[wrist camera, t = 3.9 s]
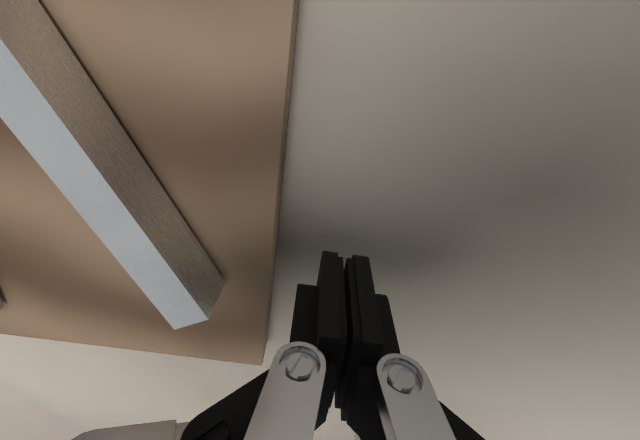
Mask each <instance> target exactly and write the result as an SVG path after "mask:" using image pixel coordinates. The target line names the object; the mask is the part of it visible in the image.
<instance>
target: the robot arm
mask: <svg viewBox="0 0 640 440" xmlns="http://www.w3.org/2000/svg"><path fill="white" fill-rule="evenodd" d="M334 391H335V408H340V409H341V420H343V421H347V424H348V425H349V426H350V427H351V428H352V429H353V431H354V432H355V440H485V439H484V438H483V437H481V436H480V435H479V434H478V433H477V432H476V431H474V430H473V429H472V428H471V427H470V426H468V425H467V424H466V423H465V422H464V421H463V420H461V419H460V418H459V417H458V416H457V415H455V414H454V413H453V412H452V411H451V410H449V409H448V408H447V407H446V406H445V405H444V404H442V403H441V402H440V401H439V400H438V398H437V396H436V394H435V391H434V389H433V387H432V385H431V383H430V380H429V378H428V376H427V374H426V372H425V371H424V369H423V368H422V367H421V366H420V365H419V364H418V363H417V362H416V361H415V360H413V359H412V358H410V357H408V356H405V355H403V354H400V349H399V345H398V341H397V336H396V332H395V327H394V323H393V318H392V314H391V310H390V305H389V301H388V298H387V296H386V295H381V294H375V290H374V284H373V279H372V273H371V268H370V262H369V257H366V256H358V255H353V256H352V259H351V258H347V260H346V264H345V268H344V267H343V257H338V253H336V252H329V251H323V252H322V257H321V263H320V269H319V274H318V280H317V286H312V285H304V284H298V285H297V292H296V300H295V307H294V314H293V321H292V328H291V335H290V342H289V343H288V344H286V345H284V346H282V347H281V348H280V349H279V350H278V351H277V353H276V355H275V356H274V359H273V362H272V364H271V367H270V369H269V370H267V371H265V372H264V373H262V374H261V375H259V376H258V377H256V378H255V379H253V380H252V381H250V382H248V383H247V384H245V385H244V386H242V387H241V388H239V389H238V390H236V391H234V392H233V393H231V394H230V395H228V396H227V397H225V398H224V399H222V400H220V401H219V402H217V403H216V404H214V405H213V406H211V407H210V408H208V409H207V410H205V411H203V412H202V413H200V414H199V415H197V416H196V417H195V418H194V419H193V420H191V421H190V422H185V423H176V420H169V421H161V422H153V423H144V424H136V425H128V426H120V427H112V428H104V429H95V430H92V431H88V432H85V433H82V434H80V435H79V436H77V437H75V438H73V439H72V440H313V435H314V431H315V430H316V429H317V428H318V427H319V426H320V425H322V424H323V423H324V422H325V421H326V417H327V413H328V409H329V407H331V403H332V399H333V395H334Z"/></svg>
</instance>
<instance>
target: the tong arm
mask: <svg viewBox="0 0 640 440" xmlns="http://www.w3.org/2000/svg"><path fill="white" fill-rule="evenodd" d="M0 118H1V119H2V120H3V121H4V123H5V124H6V125H7V126H8V127H9V129H10V130H11V131H12V132H13V134H14V135H15V136H16V137H17V138H18V140H19V141H20V142H21V143H22V145H23V146H24V147H25V148H26V149H27V151H28V152H29V153H30V154H31V156H32V157H33V158H34V159H35V160H36V162H37V163H38V164H39V165H40V166H41V168H42V169H43V170H44V171H45V173H46V174H47V175H48V176H49V177H50V179H51V180H52V181H53V182H54V184H55V185H56V186H57V187H58V188H59V190H60V191H61V192H62V193H63V195H64V196H65V197H66V198H67V199H68V201H69V202H70V203H71V204H72V206H73V207H74V208H75V209H76V210H77V212H78V213H79V214H80V215H81V217H82V218H83V219H84V220H85V221H86V223H87V224H88V225H89V226H90V228H91V229H92V230H93V231H94V232H95V234H96V235H97V236H98V237H99V238H100V240H101V241H102V242H103V243H104V245H105V246H106V247H107V248H108V249H109V251H110V252H111V253H112V254H113V256H114V257H115V258H116V259H117V260H118V262H119V263H120V264H121V265H122V267H123V268H124V269H125V270H126V271H127V273H128V274H129V275H130V276H131V278H132V279H133V280H134V281H135V282H136V284H137V285H138V286H139V287H140V289H141V290H142V291H143V292H144V293H145V295H146V296H147V297H148V298H149V300H150V301H151V302H152V303H153V304H154V306H155V307H156V308H157V309H158V310H159V312H160V313H161V314H162V315H163V317H164V318H165V319H166V320H167V321H168V323H169V324H170V325H171V326H172V328H173V329H174V330H175V329H179V328H182V327H185V326H189V325H192V324H195V323H199V322H202V321H206V320H209V318H210V315H211V313H212V311H213V309H214V306H215V304H216V302H217V300H218V298H219V295H220V293H221V291H222V289H223V286H224V284H225V281H224V280H223V278H222V277H221V275H220V274H219V272H218V271H217V269H216V268H215V266H214V265H213V263H212V262H211V260H210V259H209V257H208V256H207V254H206V253H205V251H204V250H203V248H202V247H201V245H200V244H199V242H198V241H197V239H196V238H195V236H194V235H193V233H192V232H191V230H190V229H189V227H188V226H187V224H186V223H185V221H184V220H183V218H182V217H181V215H180V214H179V212H178V211H177V209H176V208H175V206H174V205H173V203H172V202H171V200H170V199H169V197H168V196H167V194H166V193H165V191H164V190H163V188H162V186H161V185H160V183H159V182H158V180H157V179H156V177H155V176H154V174H153V173H152V171H151V170H150V168H149V167H148V165H147V164H146V162H145V161H144V159H143V158H142V156H141V155H140V153H139V152H138V150H137V149H136V147H135V146H134V144H133V143H132V141H131V140H130V138H129V137H128V135H127V134H126V132H125V131H124V129H123V128H122V126H121V125H120V123H119V122H118V120H117V119H116V117H115V116H114V114H113V113H112V111H111V110H110V108H109V107H108V105H107V104H106V102H105V101H104V99H103V98H102V96H101V95H100V93H99V92H98V90H97V89H96V87H95V86H94V84H93V83H92V81H91V80H90V78H89V77H88V75H87V74H86V72H85V71H84V69H83V68H82V66H81V65H80V63H79V62H78V60H77V59H76V57H75V55H74V54H73V52H72V51H71V49H70V48H69V46H68V45H67V43H66V42H65V40H64V39H63V37H62V36H61V34H60V33H59V31H58V30H57V28H56V27H55V25H54V24H53V22H52V21H51V19H50V18H49V16H48V15H47V13H46V12H45V10H44V9H43V7H42V6H41V4H40V3H39V1H38V0H0Z"/></svg>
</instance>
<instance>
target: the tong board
mask: <svg viewBox="0 0 640 440" xmlns="http://www.w3.org/2000/svg"><path fill="white" fill-rule="evenodd" d="M38 1H39V3H40V4H41V6H42V7H43V9H44V10H45V12H46V13H47V15H48V16H49V18H50V19H51V21H52V22H53V24H54V25H55V27H56V28H57V30H58V31H59V33H60V34H61V36H62V37H63V39H64V40H65V42H66V43H67V45H68V46H69V48H70V49H71V51H72V52H73V54H74V55H75V57H76V59H77V60H78V62H79V63H80V65H81V66H82V68H83V69H84V71H85V72H86V74H87V75H88V77H89V78H90V80H91V81H92V83H93V84H94V86H95V87H96V89H97V90H98V92H99V93H100V95H101V96H102V98H103V99H104V101H105V102H106V104H107V105H108V107H109V108H110V110H111V111H112V113H113V114H114V116H115V117H116V119H117V120H118V122H119V123H120V125H121V126H122V128H123V129H124V131H125V132H126V134H127V135H128V137H129V138H130V140H131V141H132V143H133V144H134V146H135V147H136V149H137V150H138V152H139V153H140V155H141V156H142V158H143V159H144V161H145V162H146V164H147V165H148V167H149V168H150V170H151V171H152V173H153V174H154V176H155V177H156V179H157V180H158V182H159V183H160V185H161V186H162V188H163V190H164V191H165V193H166V194H167V196H168V197H169V199H170V200H171V202H172V203H173V205H174V206H175V208H176V209H177V211H178V212H179V214H180V215H181V217H182V218H183V220H184V221H185V223H186V224H187V226H188V227H189V229H190V230H191V232H192V233H193V235H194V236H195V238H196V239H197V241H198V242H199V244H200V245H201V247H202V248H203V250H204V251H205V253H206V254H207V256H208V257H209V259H210V260H211V262H212V263H213V265H214V266H215V268H216V269H217V271H218V272H219V274H220V275H221V277H222V278H223V280H224V281H225V284H224V286H223V289H222V291H221V293H220V295H219V298H218V300H217V302H216V304H215V306H214V309H213V311H212V313H211V315H210V318H209V320H206V321H202V322H199V323H195V324H192V325H189V326H185V327H182V328H179V329H175V330H174V329H173V328H172V326H171V325H170V324H169V323H168V321H167V320H166V319H165V318H164V317H163V315H162V314H161V313H160V312H159V310H158V309H157V308H156V307H155V306H154V304H153V303H152V302H151V301H150V300H149V298H148V297H147V296H146V295H145V293H144V292H143V291H142V290H141V289H140V287H139V286H138V285H137V284H136V282H135V281H134V280H133V279H132V278H131V276H130V275H129V274H128V273H127V271H126V270H125V269H124V268H123V267H122V265H121V264H120V263H119V262H118V260H117V259H116V258H115V257H114V256H113V254H112V253H111V252H110V251H109V249H108V248H107V247H106V246H105V245H104V243H103V242H102V241H101V240H100V238H99V237H98V236H97V235H96V234H95V232H94V231H93V230H92V229H91V228H90V226H89V225H88V224H87V223H86V221H85V220H84V219H83V218H82V217H81V215H80V214H79V213H78V212H77V210H76V209H75V208H74V207H73V206H72V204H71V203H70V202H69V201H68V199H67V198H66V197H65V196H64V195H63V193H62V192H61V191H60V190H59V188H58V187H57V186H56V185H55V184H54V182H53V181H52V180H51V179H50V177H49V176H48V175H47V174H46V173H45V171H44V170H43V169H42V168H41V166H40V165H39V164H38V163H37V162H36V160H35V159H34V158H33V157H32V156H31V154H30V153H29V152H28V151H27V149H26V148H25V147H24V146H23V145H22V143H21V142H20V141H19V140H18V138H17V137H16V136H15V135H14V134H13V132H12V131H11V130H10V129H9V127H8V126H7V125H6V124H5V123H4V121H3V120H2V119H1V118H0V334H8V335H16V336H24V337H32V338H40V339H48V340H57V341H65V342H73V343H81V344H89V345H97V346H106V347H114V348H122V349H130V350H138V351H147V352H155V353H163V354H171V355H179V356H187V357H196V358H204V359H212V360H220V361H228V362H236V363H245V364H253V365H261V366H262V362H263V358H264V353H265V348H266V344H267V338H268V327H269V317H270V306H271V295H272V285H273V274H274V263H275V253H276V242H277V232H278V221H279V210H280V200H281V189H282V179H283V168H284V157H285V147H286V136H287V126H288V115H289V104H290V94H291V83H292V72H293V62H294V51H295V41H296V30H297V19H298V9H299V0H38Z"/></svg>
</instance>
